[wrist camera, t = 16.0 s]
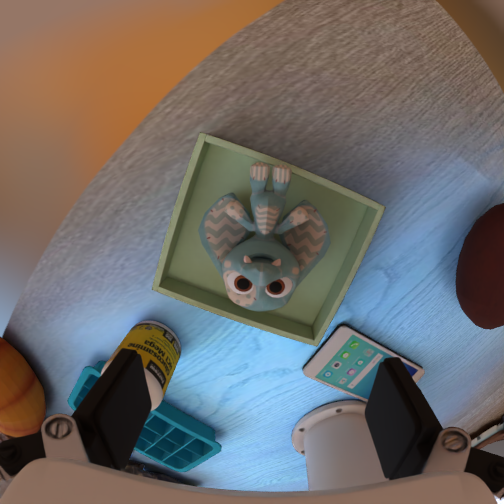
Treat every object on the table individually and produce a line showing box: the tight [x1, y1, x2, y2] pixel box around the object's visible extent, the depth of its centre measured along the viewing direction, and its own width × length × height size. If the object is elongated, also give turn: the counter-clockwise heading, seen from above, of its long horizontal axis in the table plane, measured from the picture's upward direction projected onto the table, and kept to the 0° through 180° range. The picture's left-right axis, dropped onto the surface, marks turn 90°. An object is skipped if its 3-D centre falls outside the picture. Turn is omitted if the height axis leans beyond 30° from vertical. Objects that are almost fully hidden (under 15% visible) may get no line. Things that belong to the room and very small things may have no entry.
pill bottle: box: [101, 321, 181, 411], centre depth 26 cm, size 6×6×11 cm
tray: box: [152, 132, 386, 346], centre depth 26 cm, size 16×14×3 cm
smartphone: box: [303, 324, 425, 402], centre depth 31 cm, size 7×1×15 cm
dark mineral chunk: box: [121, 460, 185, 485], centre depth 37 cm, size 6×12×15 cm
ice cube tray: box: [67, 361, 221, 472], centre depth 33 cm, size 12×20×3 cm, turn 51°
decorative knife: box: [471, 415, 504, 449], centre depth 35 cm, size 4×9×30 cm
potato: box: [456, 203, 504, 330], centre depth 21 cm, size 11×13×10 cm
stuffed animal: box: [198, 162, 331, 312], centre depth 23 cm, size 11×7×12 cm
